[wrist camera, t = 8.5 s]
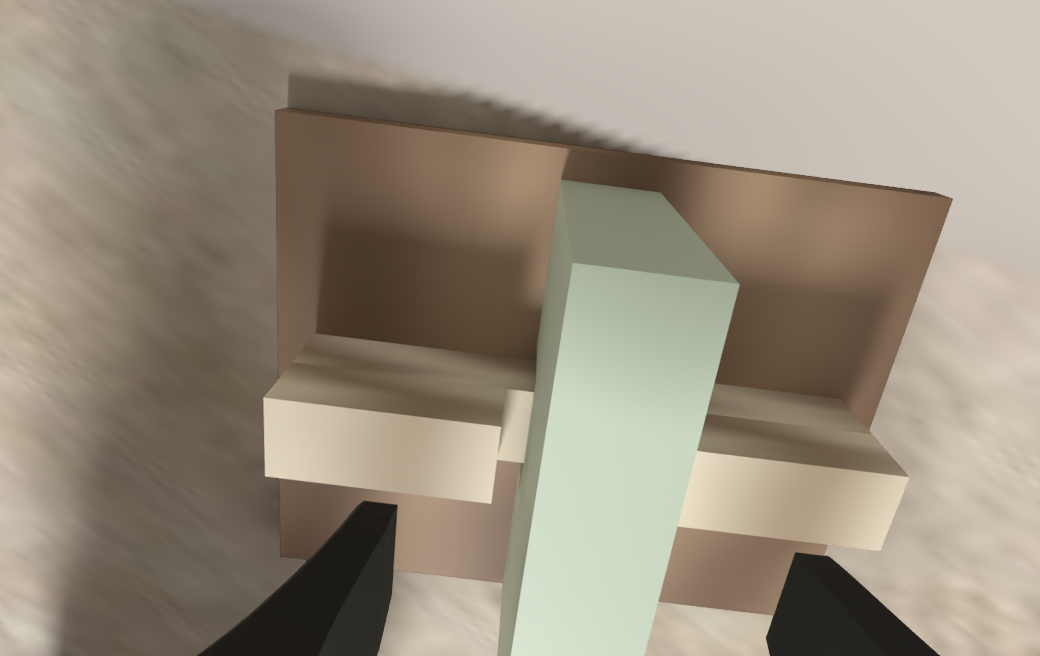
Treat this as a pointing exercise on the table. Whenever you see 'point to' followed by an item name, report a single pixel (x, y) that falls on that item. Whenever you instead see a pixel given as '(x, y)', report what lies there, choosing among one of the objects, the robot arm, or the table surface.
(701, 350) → the sage plate
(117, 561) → the table surface
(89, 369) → the table surface
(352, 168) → the slotted base
